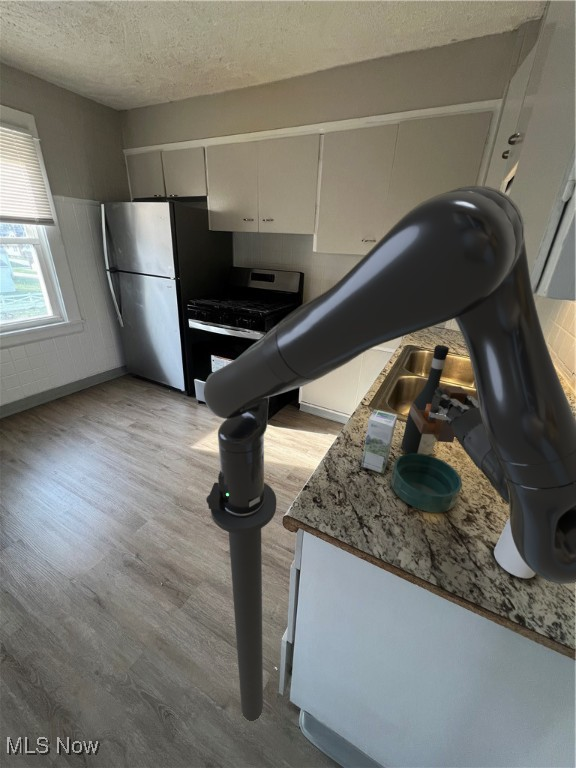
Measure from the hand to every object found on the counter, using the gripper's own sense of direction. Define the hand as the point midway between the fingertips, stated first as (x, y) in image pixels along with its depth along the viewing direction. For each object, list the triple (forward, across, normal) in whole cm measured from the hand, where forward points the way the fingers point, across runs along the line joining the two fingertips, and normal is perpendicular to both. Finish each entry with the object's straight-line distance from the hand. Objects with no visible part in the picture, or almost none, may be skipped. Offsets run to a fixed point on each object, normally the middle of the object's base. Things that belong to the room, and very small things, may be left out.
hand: (447, 392), depth 62 cm
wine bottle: (+15, -3, +25) cm, 29 cm away
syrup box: (+7, +10, +25) cm, 28 cm away
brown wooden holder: (+1, 0, +9) cm, 9 cm away
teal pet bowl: (0, 0, +25) cm, 25 cm away
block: (+3, 0, +8) cm, 9 cm away
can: (-17, -11, +25) cm, 33 cm away
